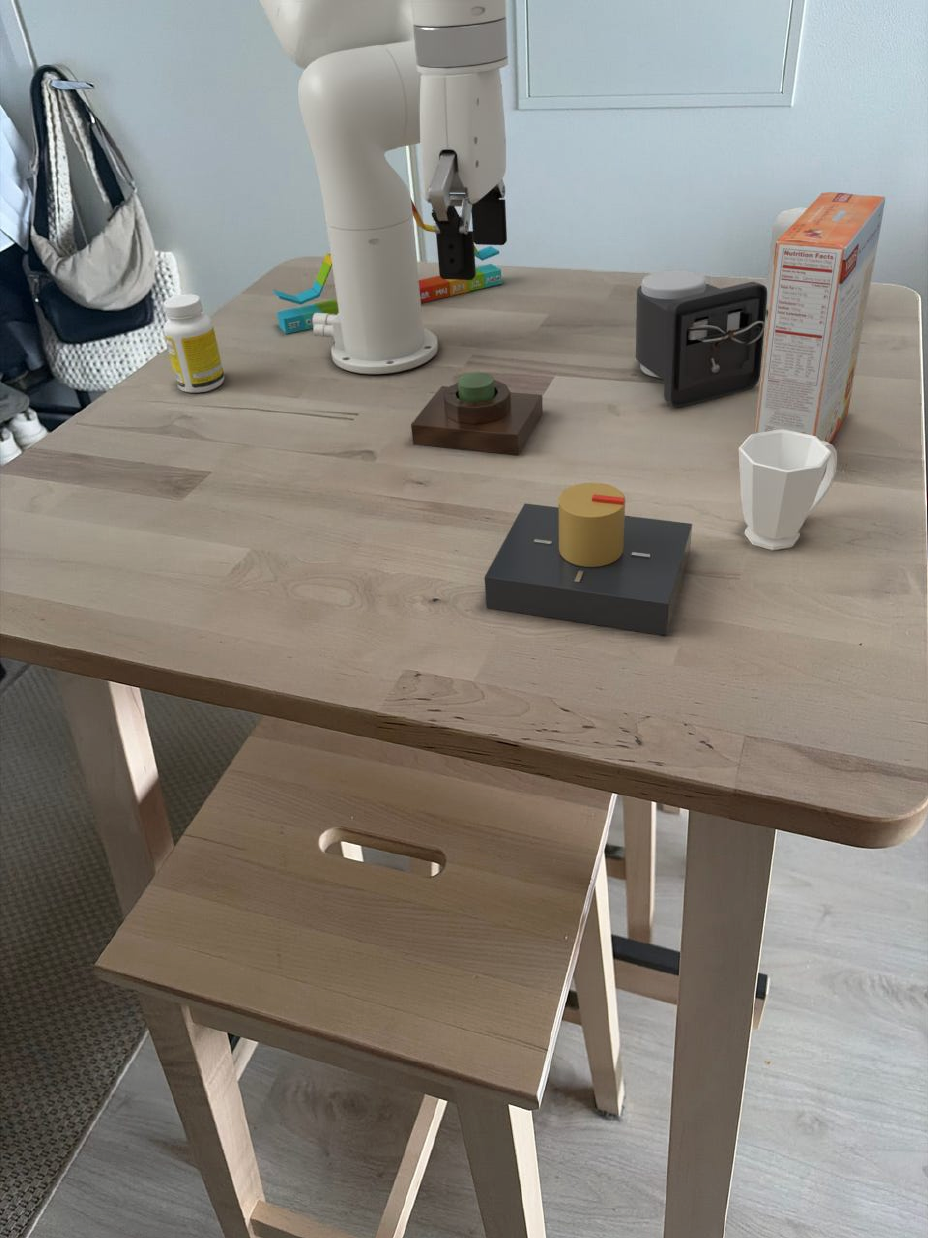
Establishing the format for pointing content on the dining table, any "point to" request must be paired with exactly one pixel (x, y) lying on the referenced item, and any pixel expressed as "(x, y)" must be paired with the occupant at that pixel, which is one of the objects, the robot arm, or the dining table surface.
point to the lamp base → (478, 421)
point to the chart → (428, 288)
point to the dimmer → (591, 524)
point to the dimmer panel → (590, 574)
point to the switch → (476, 387)
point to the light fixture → (699, 335)
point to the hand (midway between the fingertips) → (474, 260)
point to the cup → (782, 484)
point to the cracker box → (818, 314)
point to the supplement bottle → (192, 345)
